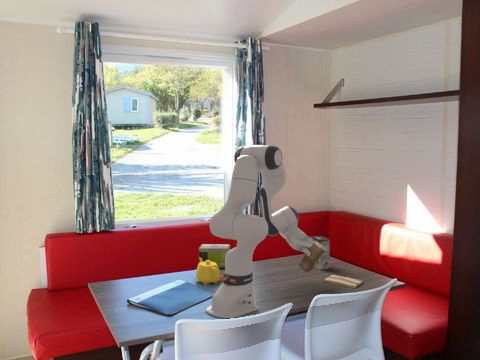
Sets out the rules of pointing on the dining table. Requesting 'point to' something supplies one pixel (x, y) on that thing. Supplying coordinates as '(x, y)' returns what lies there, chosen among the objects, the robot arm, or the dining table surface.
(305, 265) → the walnut post
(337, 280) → the beige flat slab
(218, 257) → the tea box
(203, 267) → the teapot
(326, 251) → the coffee box
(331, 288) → the dining table surface
